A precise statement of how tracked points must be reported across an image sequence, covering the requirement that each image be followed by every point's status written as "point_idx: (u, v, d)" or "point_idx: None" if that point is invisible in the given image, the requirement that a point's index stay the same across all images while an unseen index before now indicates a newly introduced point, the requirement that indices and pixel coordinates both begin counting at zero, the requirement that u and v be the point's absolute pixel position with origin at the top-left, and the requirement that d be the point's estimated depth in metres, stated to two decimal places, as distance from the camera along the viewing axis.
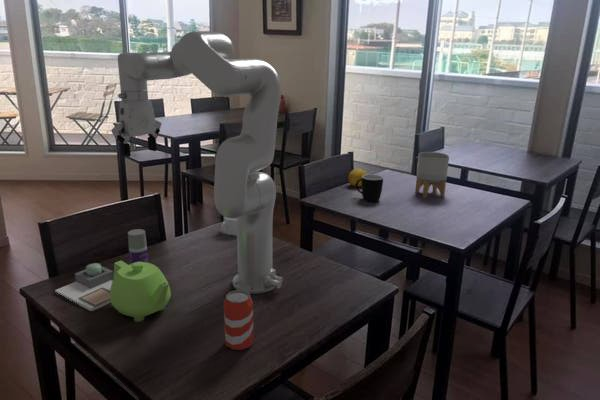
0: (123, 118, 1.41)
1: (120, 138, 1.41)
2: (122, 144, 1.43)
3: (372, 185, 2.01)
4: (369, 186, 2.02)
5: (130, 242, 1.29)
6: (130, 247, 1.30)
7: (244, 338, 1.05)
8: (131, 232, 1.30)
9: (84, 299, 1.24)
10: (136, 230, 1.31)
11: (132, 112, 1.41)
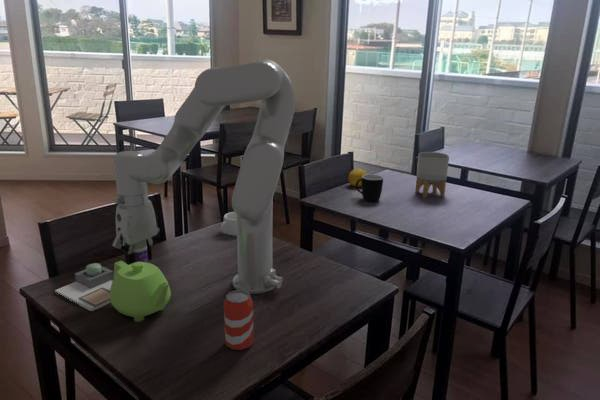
0: (121, 225, 1.25)
1: (124, 249, 1.27)
2: (126, 254, 1.29)
3: (372, 185, 2.01)
4: (369, 186, 2.02)
5: None
6: None
7: (244, 338, 1.05)
8: None
9: (84, 299, 1.24)
10: None
11: (130, 218, 1.25)
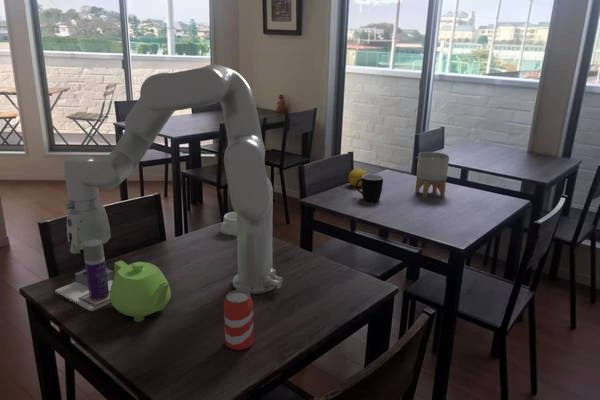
0: (71, 230, 1.25)
1: (83, 251, 1.29)
2: None
3: (372, 185, 2.01)
4: (369, 186, 2.02)
5: (85, 254, 1.20)
6: (85, 259, 1.20)
7: (244, 338, 1.05)
8: (87, 243, 1.20)
9: (84, 299, 1.24)
10: (92, 241, 1.22)
11: (80, 223, 1.24)
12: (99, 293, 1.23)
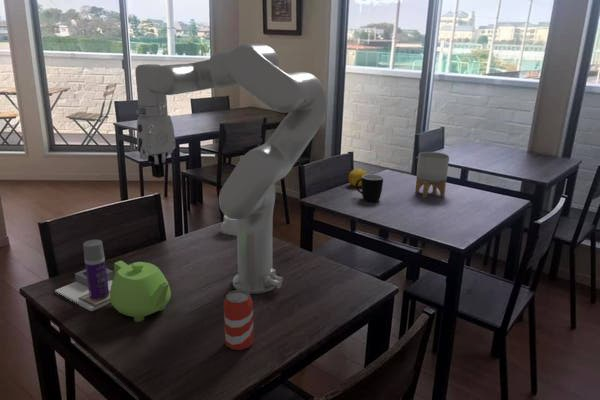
0: (142, 135, 1.30)
1: (151, 159, 1.34)
2: (153, 165, 1.36)
3: (372, 185, 2.01)
4: (369, 186, 2.02)
5: (85, 254, 1.20)
6: (85, 259, 1.20)
7: (243, 338, 1.05)
8: (87, 243, 1.20)
9: (84, 299, 1.24)
10: (92, 241, 1.22)
11: (150, 129, 1.30)
12: (99, 293, 1.23)
